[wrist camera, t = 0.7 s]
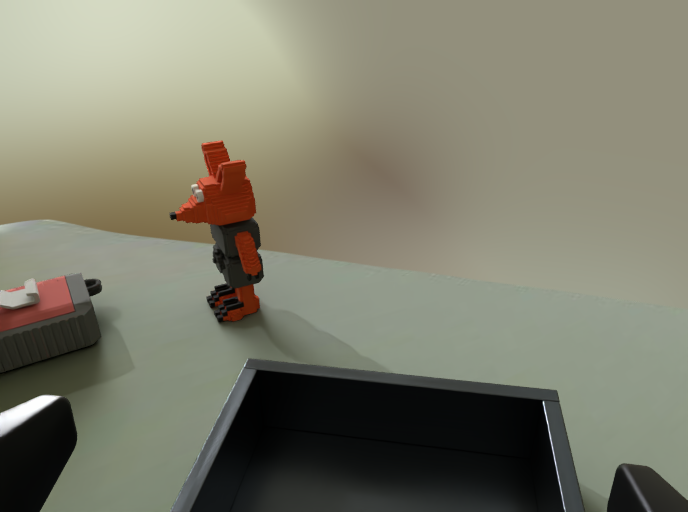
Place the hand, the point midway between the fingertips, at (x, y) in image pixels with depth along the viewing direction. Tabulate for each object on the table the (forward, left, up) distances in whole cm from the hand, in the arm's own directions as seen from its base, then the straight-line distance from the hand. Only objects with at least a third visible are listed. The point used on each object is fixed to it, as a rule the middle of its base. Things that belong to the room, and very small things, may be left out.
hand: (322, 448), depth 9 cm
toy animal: (+25, +17, -17) cm, 34 cm away
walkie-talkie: (+15, +32, -17) cm, 39 cm away
